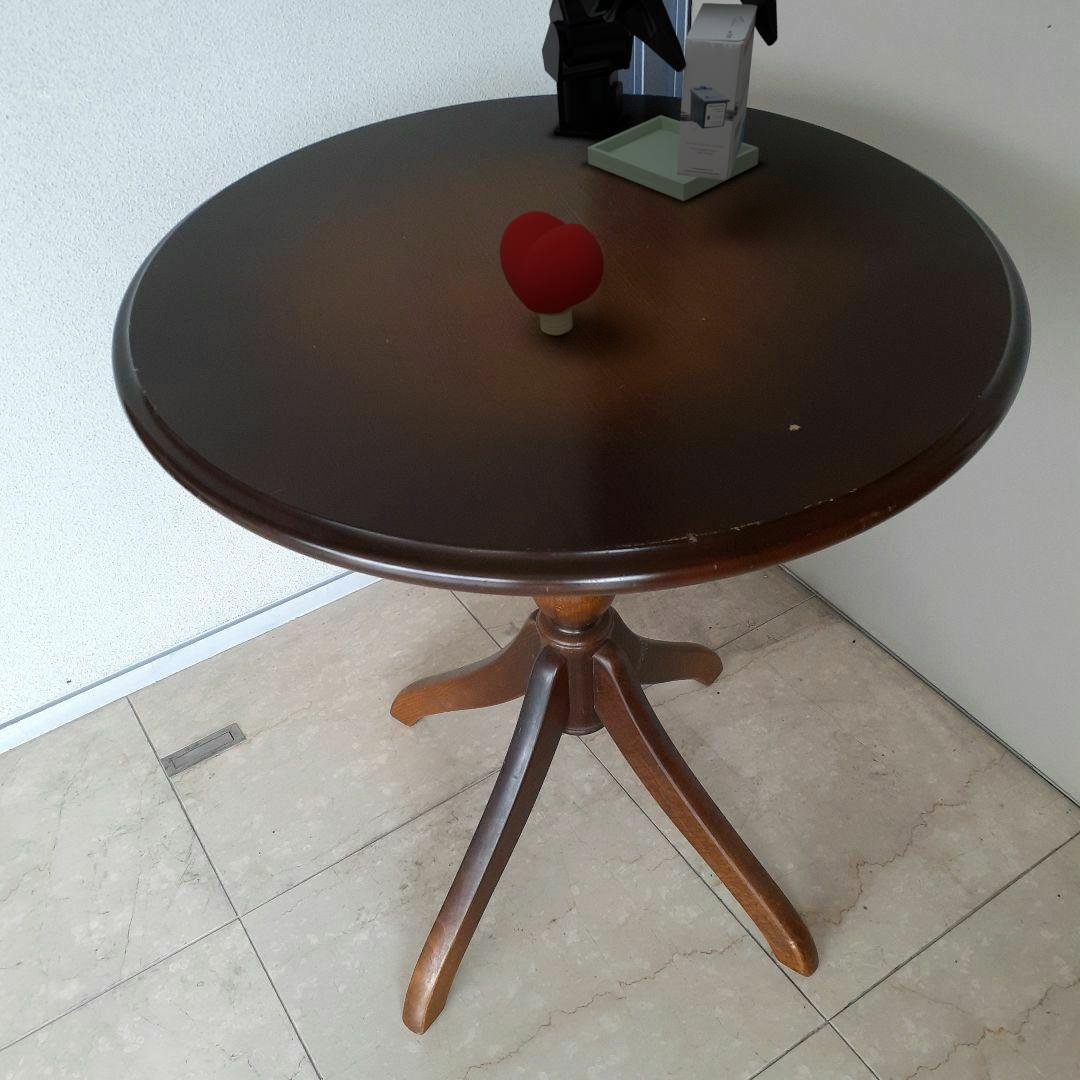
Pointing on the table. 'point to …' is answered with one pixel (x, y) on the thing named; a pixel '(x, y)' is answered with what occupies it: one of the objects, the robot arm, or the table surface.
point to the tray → (658, 158)
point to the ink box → (715, 89)
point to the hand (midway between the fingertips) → (728, 56)
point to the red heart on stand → (550, 267)
